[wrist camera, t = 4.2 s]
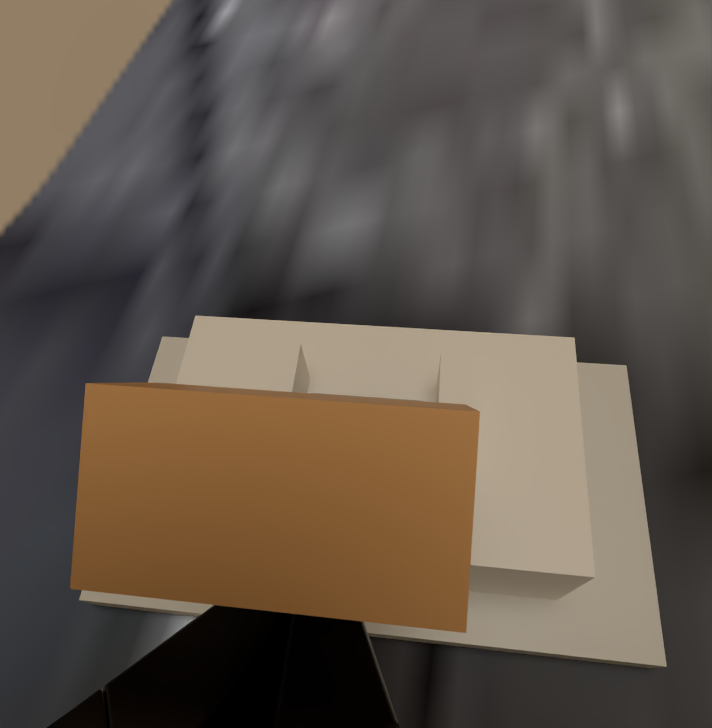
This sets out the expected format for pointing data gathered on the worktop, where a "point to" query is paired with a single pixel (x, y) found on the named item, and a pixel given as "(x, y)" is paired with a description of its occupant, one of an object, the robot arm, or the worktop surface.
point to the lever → (278, 501)
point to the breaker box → (482, 472)
